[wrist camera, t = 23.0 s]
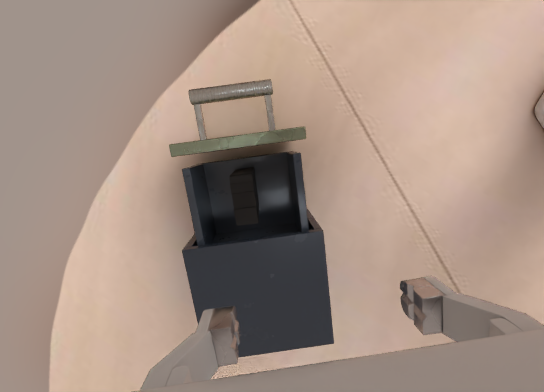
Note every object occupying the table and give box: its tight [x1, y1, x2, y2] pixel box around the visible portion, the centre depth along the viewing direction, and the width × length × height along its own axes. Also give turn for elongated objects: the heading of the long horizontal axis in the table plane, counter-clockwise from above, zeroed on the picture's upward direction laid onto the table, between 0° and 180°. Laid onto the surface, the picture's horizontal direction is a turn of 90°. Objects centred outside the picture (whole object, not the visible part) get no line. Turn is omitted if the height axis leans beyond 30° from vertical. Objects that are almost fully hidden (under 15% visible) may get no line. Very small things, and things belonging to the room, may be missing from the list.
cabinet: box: [182, 209, 334, 357], centre depth 32 cm, size 14×15×9 cm
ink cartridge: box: [229, 167, 259, 226], centre depth 28 cm, size 5×2×8 cm, turn 6°
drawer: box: [169, 79, 309, 246], centre depth 29 cm, size 17×13×7 cm
